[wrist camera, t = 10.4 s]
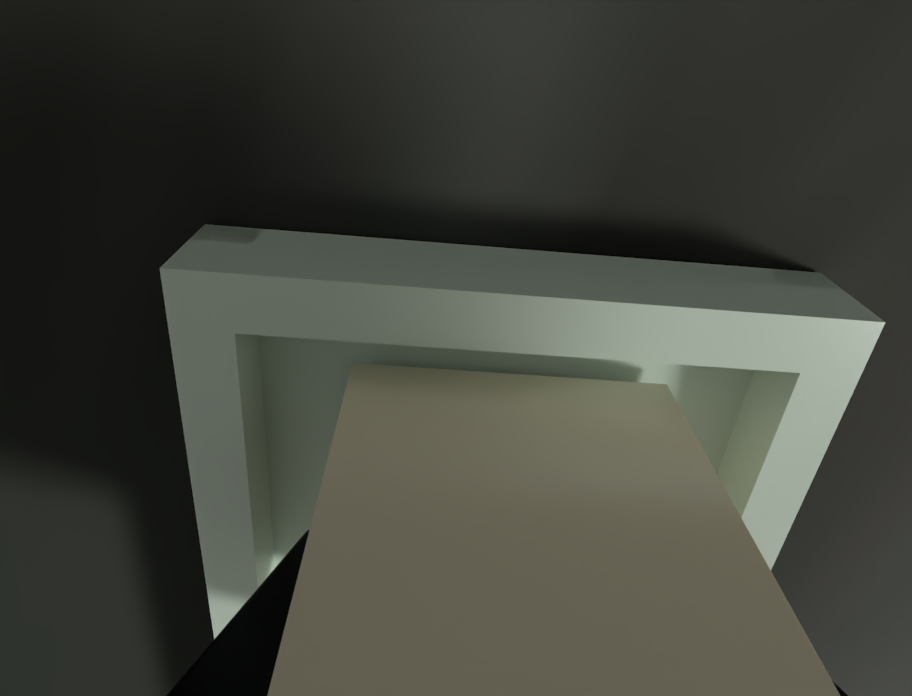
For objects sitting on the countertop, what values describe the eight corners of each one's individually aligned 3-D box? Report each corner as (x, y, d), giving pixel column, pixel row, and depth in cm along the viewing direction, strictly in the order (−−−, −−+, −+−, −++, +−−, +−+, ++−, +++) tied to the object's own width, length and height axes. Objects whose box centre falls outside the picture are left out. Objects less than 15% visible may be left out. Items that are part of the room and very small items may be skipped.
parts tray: (598, 840, 17) (611, 915, 16) (269, 831, 17) (253, 906, 16) (820, 272, 9) (885, 322, 8) (204, 224, 9) (158, 268, 7)
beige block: (604, 598, 11) (719, 1041, 7) (349, 584, 11) (276, 1034, 6) (666, 384, 9) (904, 810, 4) (351, 363, 9) (242, 789, 4)
